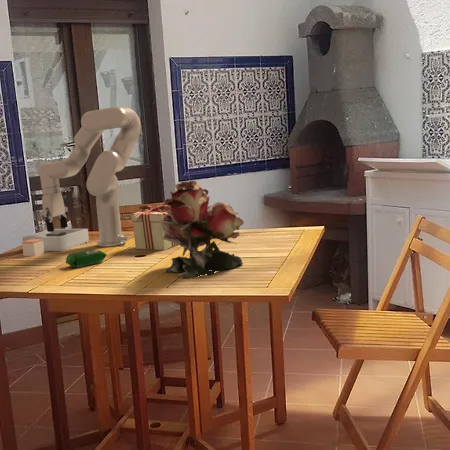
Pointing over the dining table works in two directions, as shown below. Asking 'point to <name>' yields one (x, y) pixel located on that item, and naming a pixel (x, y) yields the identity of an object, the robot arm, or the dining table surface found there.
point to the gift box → (150, 228)
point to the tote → (61, 239)
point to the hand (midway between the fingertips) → (57, 229)
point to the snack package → (85, 258)
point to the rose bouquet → (199, 230)
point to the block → (55, 234)
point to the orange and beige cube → (33, 247)
